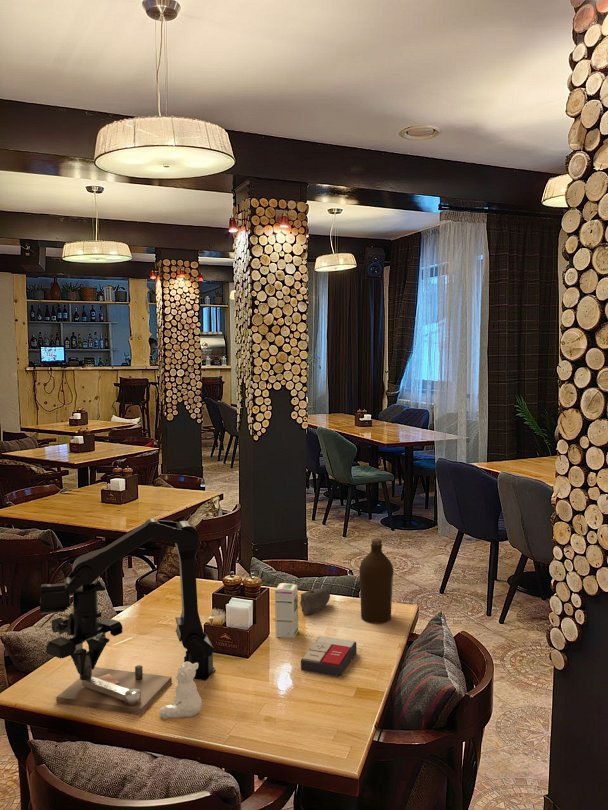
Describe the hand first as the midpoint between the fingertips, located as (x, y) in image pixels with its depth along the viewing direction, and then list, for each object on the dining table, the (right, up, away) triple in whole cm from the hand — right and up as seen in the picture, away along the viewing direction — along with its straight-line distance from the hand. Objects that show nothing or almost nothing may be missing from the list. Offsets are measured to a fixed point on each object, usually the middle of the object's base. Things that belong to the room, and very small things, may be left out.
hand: (86, 671), depth 163 cm
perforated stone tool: (+57, -2, +54) cm, 79 cm away
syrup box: (+48, -3, +35) cm, 59 cm away
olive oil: (+76, -2, +47) cm, 90 cm away
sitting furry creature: (+26, -6, -9) cm, 28 cm away
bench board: (+7, -5, 0) cm, 9 cm away
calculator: (+60, -5, +17) cm, 63 cm away
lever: (+7, -3, -4) cm, 9 cm away
